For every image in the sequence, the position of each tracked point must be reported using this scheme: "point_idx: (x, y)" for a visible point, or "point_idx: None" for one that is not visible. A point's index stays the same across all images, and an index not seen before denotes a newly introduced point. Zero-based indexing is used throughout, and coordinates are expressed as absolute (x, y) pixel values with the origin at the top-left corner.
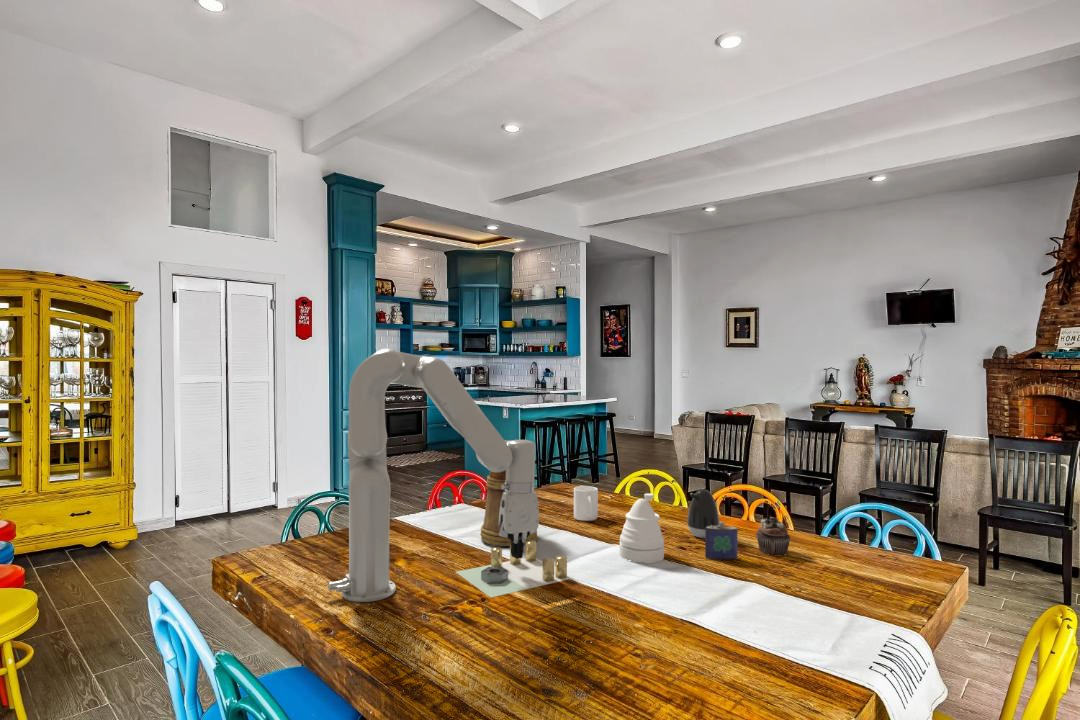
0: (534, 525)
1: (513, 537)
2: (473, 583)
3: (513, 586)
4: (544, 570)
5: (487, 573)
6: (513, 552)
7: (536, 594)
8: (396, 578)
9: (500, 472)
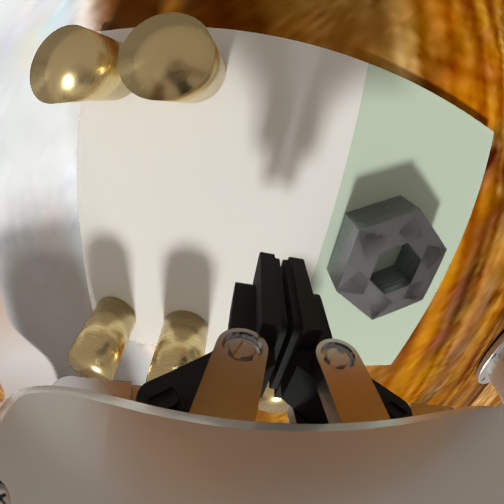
0: (60, 464)
1: (372, 394)
2: (444, 267)
3: (389, 130)
4: (219, 59)
5: (434, 264)
6: (321, 303)
7: (344, 20)
8: (450, 383)
9: None
